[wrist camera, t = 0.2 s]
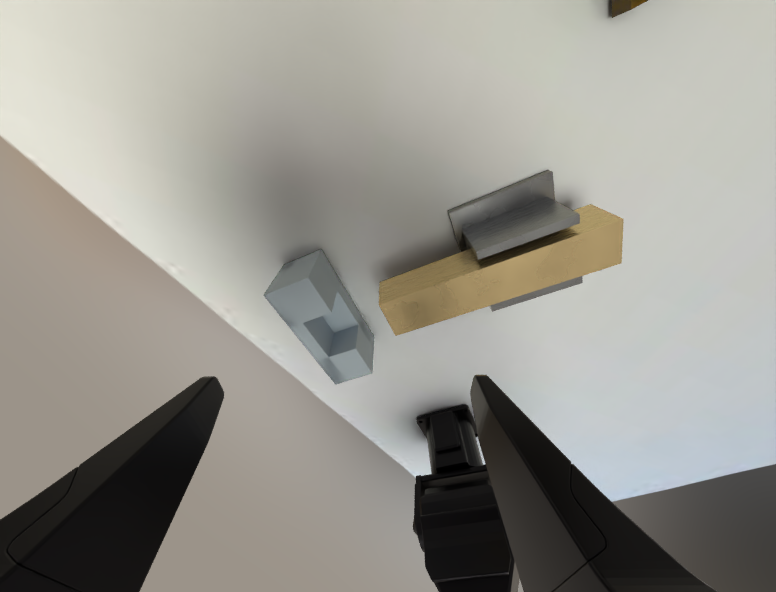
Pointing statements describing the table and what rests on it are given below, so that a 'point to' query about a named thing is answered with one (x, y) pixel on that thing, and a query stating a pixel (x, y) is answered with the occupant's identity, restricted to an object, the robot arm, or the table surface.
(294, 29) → the table surface
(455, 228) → the grey sleeve
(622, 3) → the pipe connector
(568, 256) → the tan square rod
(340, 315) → the slate-blue socket
